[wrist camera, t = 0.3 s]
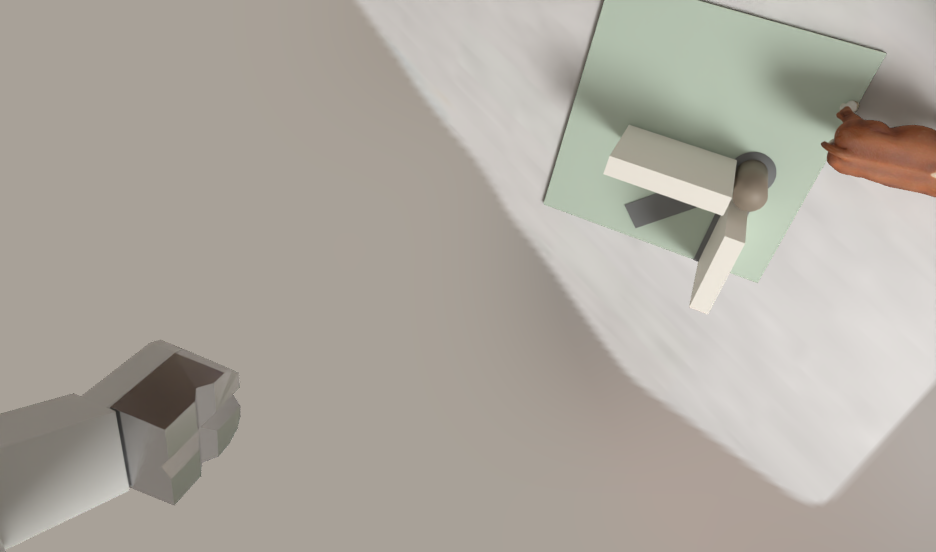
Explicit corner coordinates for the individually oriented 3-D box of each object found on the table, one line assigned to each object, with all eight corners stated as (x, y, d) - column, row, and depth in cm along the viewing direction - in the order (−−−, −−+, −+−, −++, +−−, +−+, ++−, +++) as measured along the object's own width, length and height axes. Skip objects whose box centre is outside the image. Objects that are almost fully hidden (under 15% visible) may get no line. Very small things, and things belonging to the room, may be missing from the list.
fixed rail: (743, 155, 51) (739, 192, 45) (773, 164, 51) (773, 203, 44) (693, 259, 57) (683, 305, 51) (720, 269, 57) (713, 316, 50)
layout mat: (612, -25, 49) (611, -24, 49) (886, 52, 45) (886, 53, 45) (544, 203, 60) (543, 204, 60) (757, 281, 56) (757, 283, 56)
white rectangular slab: (737, 160, 51) (731, 197, 45) (729, 176, 52) (723, 216, 46) (629, 124, 53) (609, 155, 47) (623, 141, 54) (603, 174, 48)
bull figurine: (987, 197, 47) (1027, 251, 40) (804, 136, 49) (813, 178, 43) (1032, 144, 44) (1081, 192, 38) (835, 81, 46) (850, 117, 40)
